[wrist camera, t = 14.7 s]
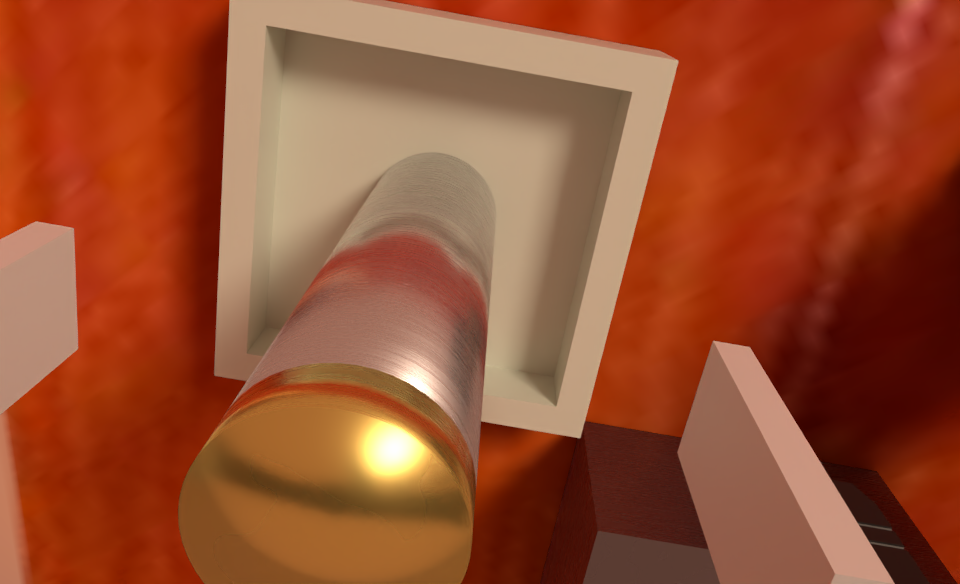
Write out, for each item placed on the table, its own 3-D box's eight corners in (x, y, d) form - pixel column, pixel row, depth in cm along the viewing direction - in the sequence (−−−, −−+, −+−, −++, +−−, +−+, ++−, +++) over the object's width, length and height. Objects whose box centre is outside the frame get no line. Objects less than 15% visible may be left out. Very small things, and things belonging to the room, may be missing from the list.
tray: (263, -22, 23) (230, -22, 20) (660, 51, 23) (678, 60, 21) (242, 337, 27) (214, 375, 25) (574, 394, 28) (580, 438, 25)
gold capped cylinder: (378, 141, 24) (181, 383, 10) (506, 164, 24) (495, 435, 10) (364, 262, 25) (175, 622, 11) (484, 283, 25) (447, 665, 11)
